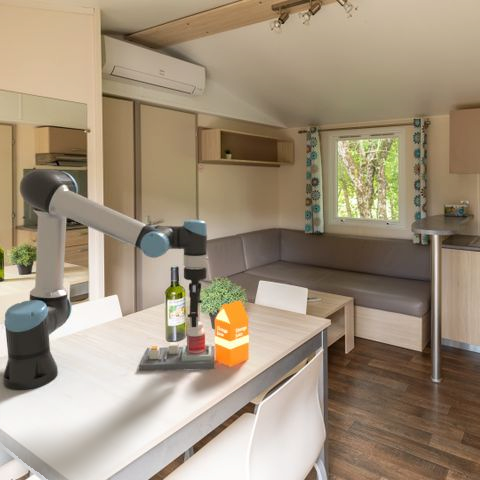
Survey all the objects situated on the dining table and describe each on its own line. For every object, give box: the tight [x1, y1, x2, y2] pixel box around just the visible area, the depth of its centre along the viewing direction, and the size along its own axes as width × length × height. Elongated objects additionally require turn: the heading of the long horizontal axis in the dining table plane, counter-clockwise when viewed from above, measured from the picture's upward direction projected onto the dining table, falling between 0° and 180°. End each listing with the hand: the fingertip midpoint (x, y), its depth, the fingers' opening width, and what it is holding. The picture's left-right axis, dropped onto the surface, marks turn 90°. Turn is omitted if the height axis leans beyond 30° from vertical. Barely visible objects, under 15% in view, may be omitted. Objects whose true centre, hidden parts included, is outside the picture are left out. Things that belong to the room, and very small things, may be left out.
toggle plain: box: [168, 341, 180, 354], centre depth 146 cm, size 3×3×3 cm
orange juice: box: [214, 299, 250, 367], centre depth 144 cm, size 8×9×20 cm
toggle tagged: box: [149, 345, 161, 359], centre depth 142 cm, size 3×3×3 cm
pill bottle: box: [186, 321, 206, 355], centre depth 144 cm, size 6×6×11 cm
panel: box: [139, 344, 216, 372], centre depth 144 cm, size 24×14×4 cm, turn 93°
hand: (195, 328), depth 143 cm, fingers open, 13 cm apart
